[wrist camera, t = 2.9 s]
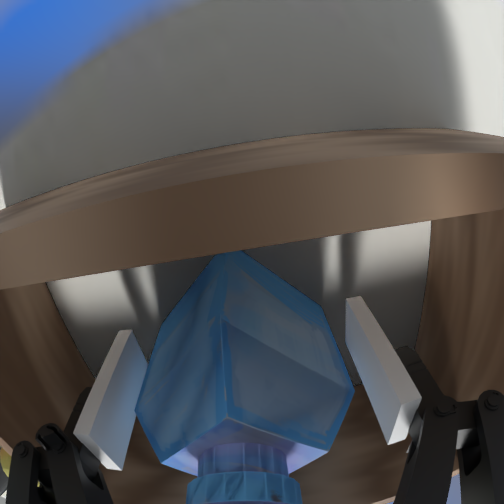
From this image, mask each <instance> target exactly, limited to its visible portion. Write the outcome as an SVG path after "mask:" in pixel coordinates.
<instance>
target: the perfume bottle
mask: <svg viewBox="0 0 504 504" xmlns="http://www.w3.org/2000/svg"><path fill="white" fill-rule="evenodd" d="M354 392H355V390H354V387H353V384H352V382H351V379H350V377H349V374H348V372H347V369H346V366H345V364H344V361H343V359H342V356H341V354H340V351H339V349H338V346H337V344H336V341H335V339H334V336H333V334H332V332H331V329H330V327H329V324H328V322H327V319H326V317H325V315H324V312H323V310H322V307H321V306H320V305H319V304H317V303H316V302H314V301H313V300H311V299H310V298H309V297H307V296H306V295H304V294H303V293H301V292H300V291H299V290H297V289H296V288H294V287H293V286H291V285H290V284H289V283H287V282H286V281H284V280H283V279H281V278H280V277H279V276H277V275H276V274H274V273H273V272H271V271H270V270H269V269H267V268H266V267H264V266H263V265H261V264H260V263H259V262H257V261H256V260H254V259H253V258H252V257H250V256H249V255H247V254H246V253H244V252H243V251H242V250H239V251H233V252H227V253H221V254H216V255H215V256H214V257H213V259H212V260H211V261H210V262H209V264H208V265H207V266H206V268H205V269H204V270H203V271H202V273H201V274H200V275H199V276H198V278H197V279H196V280H195V282H194V283H193V284H192V285H191V287H190V288H189V289H188V291H187V292H186V293H185V294H184V296H183V297H182V298H181V300H180V301H179V302H178V304H177V305H176V306H175V307H174V309H173V310H172V311H171V313H170V314H169V315H168V317H167V318H166V319H165V320H164V322H163V323H162V325H161V327H160V330H159V333H158V336H157V339H156V342H155V345H154V348H153V352H152V355H151V358H150V361H149V364H148V367H147V370H146V374H145V377H144V380H143V383H142V387H141V390H140V393H139V397H138V400H137V403H136V407H135V410H134V411H135V413H136V415H137V417H138V420H139V422H140V424H141V426H142V428H143V430H144V432H145V434H146V436H147V438H148V440H149V442H150V444H151V446H152V448H153V450H154V452H155V453H156V455H157V457H158V459H159V461H160V463H162V464H164V465H167V466H169V467H172V468H175V469H178V470H181V471H183V472H186V473H189V474H192V475H195V476H197V478H196V479H193V480H192V481H191V482H190V483H188V485H187V495H186V504H303V503H302V496H301V490H300V484H299V483H298V482H297V481H296V480H295V479H294V478H291V477H289V474H290V473H291V472H293V471H295V470H297V469H299V468H301V467H303V466H305V465H306V464H308V463H310V462H312V461H314V460H315V459H317V458H319V457H321V456H322V455H324V454H326V453H327V452H329V450H330V448H331V446H332V444H333V442H334V439H335V437H336V435H337V433H338V431H339V428H340V426H341V424H342V421H343V419H344V417H345V414H346V412H347V410H348V407H349V405H350V402H351V400H352V397H353V395H354Z"/></svg>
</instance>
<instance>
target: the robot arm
mask: <svg viewBox="0 0 504 504" xmlns="http://www.w3.org/2000/svg"><path fill="white" fill-rule="evenodd" d="M345 343H346V345H347V348H348V350H349V352H350V354H351V357H352V359H353V361H354V364H355V366H356V368H357V371H358V373H359V375H360V378H361V380H362V383H363V385H364V387H365V390H366V392H367V395H368V397H369V399H370V402H371V404H372V407H373V409H374V412H375V414H376V417H377V419H378V422H379V424H380V427H381V429H382V432H383V434H384V437H385V440H386V442H387V445H390V444H393V443H396V442H399V441H402V440H405V439H406V437H407V434H408V432H409V434H410V436H411V438H412V441H411V444H410V446H409V448H408V450H407V452H406V453H408V456H407V459H406V463H405V467H404V471H403V474H402V478H401V481H400V484H399V487H398V491H397V494H396V497H395V500H394V503H393V504H446V502H447V497H448V492H449V488H450V483H451V478H452V472H453V466H454V460H455V453H456V449H457V455H458V464H459V474H460V486H461V504H504V395H503V394H502V393H500V392H499V391H496V390H487V391H484V392H483V393H482V394H481V395H480V396H479V398H478V400H472V401H463V402H457V401H456V400H455V399H453V398H452V397H449V396H445V395H444V394H443V393H442V391H441V390H440V388H439V387H438V385H437V383H436V382H435V380H434V379H433V377H432V375H431V374H430V372H429V371H428V369H426V366H425V364H424V363H423V362H422V360H421V358H420V357H419V355H418V354H417V352H416V351H414V350H413V349H411V348H410V347H408V346H405V347H401V348H398V349H394V348H393V347H392V345H391V343H390V342H389V340H388V338H387V337H386V335H385V333H384V332H383V330H382V329H381V327H380V325H379V324H378V322H377V321H376V319H375V317H374V316H373V314H372V313H371V311H370V309H369V308H368V306H367V305H366V303H365V302H364V300H363V298H362V297H361V296H357V297H352V298H347V299H346V329H345ZM147 367H148V363H147V361H146V359H145V357H144V355H143V353H142V350H141V348H140V346H139V344H138V342H137V339H136V337H135V335H134V333H133V330H132V329H129V330H119V332H118V334H117V336H116V338H115V340H114V342H113V344H112V346H111V348H110V350H109V352H108V354H107V356H106V359H105V361H104V363H103V365H102V367H101V369H100V371H99V374H98V376H97V378H96V380H95V382H94V385H93V387H86V388H85V389H84V390H83V391H82V393H81V394H80V395H79V397H78V399H77V401H76V405H75V406H74V408H73V411H72V413H71V415H70V417H69V420H68V422H67V424H66V427H65V429H64V431H62V430H61V428H60V427H59V426H58V425H56V424H54V423H48V424H45V425H43V426H41V427H40V429H39V430H38V431H37V433H36V436H35V440H36V441H37V442H38V443H39V444H40V445H41V447H35V446H34V445H33V444H32V443H30V442H29V441H25V440H24V441H20V442H19V443H17V444H16V446H15V447H14V449H13V452H12V457H11V463H10V469H9V477H7V475H6V474H5V472H4V471H3V468H2V465H1V462H0V496H1V495H2V494H3V493H4V492H5V491H6V490H7V494H6V504H114V503H113V500H112V498H111V495H110V493H109V490H108V487H107V484H106V482H105V479H104V476H103V473H102V472H101V470H100V469H99V465H100V462H101V463H102V464H103V465H104V466H105V467H106V468H107V469H113V470H121V471H122V469H123V465H124V461H125V457H126V453H127V449H128V445H129V441H130V437H131V433H132V430H133V426H134V422H135V418H136V413H135V411H134V410H135V407H136V403H137V400H138V397H139V393H140V390H141V387H142V383H143V380H144V377H145V374H146V370H147ZM0 450H1V447H0ZM38 481H39V482H40V485H39V487H37V486H38Z"/></svg>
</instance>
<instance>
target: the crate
mask: <svg viewBox="0 0 504 504" xmlns="http://www.w3.org/2000/svg"><path fill="white" fill-rule="evenodd" d="M430 220H432V225H431V241H430V253H429V264H428V273H427V281H426V289H425V296H424V303H423V309H422V315H421V321H420V326H419V331H418V336H417V341H416V346H415V351H416V352H417V354H418V355H419V357H420V358H421V360H422V362H423V363H424V364H425V366H426V369H428V371H429V372H430V374H431V375H432V377H433V379H434V380H435V382H436V383H437V385H438V387H439V388H440V390H441V391H442V393H443V394H444V395H445V396H449V397H452V398H453V399H455V400H456V401H457V402H463V401H472V400H478V398H479V396H480V395H481V394H482V393H483V392H484V391H487V390H496V391H499V392H500V393H502V394H503V395H504V137H500V136H495V135H489V134H483V133H476V132H469V131H462V130H454V129H436V128H404V129H372V130H354V131H340V132H328V133H317V134H307V135H298V136H289V137H281V138H273V139H266V140H259V141H252V142H246V143H240V144H234V145H228V146H222V147H217V148H211V149H206V150H201V151H196V152H191V153H186V154H181V155H177V156H172V157H168V158H164V159H159V160H155V161H151V162H147V163H143V164H139V165H135V166H131V167H127V168H124V169H120V170H116V171H113V172H109V173H106V174H102V175H99V176H95V177H92V178H89V179H85V180H82V181H79V182H76V183H73V184H70V185H67V186H64V187H61V188H58V189H55V190H52V191H49V192H46V193H43V194H41V195H38V196H35V197H32V198H30V199H27V200H24V201H22V202H19V203H17V204H14V205H12V206H9V207H7V208H4V209H2V210H0V446H1V447H2V448H3V449H4V450H5V451H6V452H7V453H8V454H9V455H10V456H11V457H12V452H13V449H14V447H15V446H16V444H17V443H19V442H20V441H24V440H25V441H29V442H30V443H32V444H33V445H34V446H35V447H41V445H40V444H39V443H38V442H37V441H36V440H35V436H36V433H37V431H38V430H39V429H40V427H41V426H43V425H45V424H48V423H54V424H56V425H58V426H59V427H60V428H61V430H62V431H64V429H65V427H66V424H67V422H68V420H69V417H70V415H71V413H72V411H73V408H74V406H75V405H76V401H77V399H78V397H79V395H80V394H81V393H82V391H83V390H84V389H85V388H86V387H93V385H94V382H95V378H94V377H93V375H92V373H91V372H90V370H89V368H88V367H87V365H86V363H85V361H84V360H83V358H82V356H81V354H80V353H79V351H78V349H77V347H76V345H75V343H74V342H73V340H72V338H71V336H70V334H69V332H68V330H67V328H66V326H65V324H64V322H63V320H62V318H61V316H60V314H59V312H58V310H57V307H56V305H55V303H54V301H53V299H52V296H51V294H50V292H49V290H48V287H47V285H46V283H45V282H49V281H55V280H61V279H67V278H73V277H79V276H85V275H91V274H98V273H104V272H110V271H116V270H122V269H128V268H134V267H140V266H146V265H153V264H159V263H165V262H171V261H177V260H183V259H190V258H196V257H202V256H208V255H214V254H221V253H227V252H233V251H239V250H246V249H252V248H258V247H264V246H271V245H277V244H283V243H290V242H296V241H302V240H309V239H315V238H321V237H328V236H334V235H340V234H347V233H353V232H359V231H366V230H372V229H379V228H385V227H391V226H398V225H404V224H411V223H417V222H424V221H430ZM353 387H354V390H355V392H354V395H353V397H352V400H351V402H350V405H349V407H348V410H347V412H346V414H345V417H344V419H343V421H342V424H341V426H340V428H339V431H338V433H337V435H336V437H335V439H334V442H333V444H332V446H331V448H330V450H329V452H327V453H326V454H324V455H322V456H321V457H319V458H317V459H315V460H314V461H312V462H310V463H308V464H306V465H305V466H303V467H301V468H299V469H297V470H295V471H293V472H291V473H290V474H289V477H291V478H294V479H295V480H296V481H297V482H298V483H299V484H300V490H301V496H302V503H303V504H387V503H390V502H393V501H394V500H395V497H396V494H397V491H398V487H399V484H400V481H401V478H402V474H403V471H404V467H405V463H406V459H407V456H408V453H406V452H407V450H408V448H409V446H410V444H411V441H412V438H411V436H410V434H409V432H408V434H407V437H406V439H405V440H402V441H399V442H396V443H393V444H390V445H387V442H386V440H385V437H384V434H383V432H382V429H381V427H380V424H379V422H378V419H377V417H376V414H375V412H374V409H373V407H372V404H371V402H370V399H369V397H368V395H367V392H366V390H365V387H364V385H363V384H361V385H357V386H353ZM99 469H100V470H101V472H102V473H103V476H104V479H105V482H106V484H107V487H108V490H109V493H110V495H111V498H112V500H113V503H114V504H186V495H187V485H188V483H190V482H191V481H192V480H193V479H196V478H197V476H195V475H192V474H189V473H186V472H183V471H181V470H178V469H175V468H172V467H169V466H167V465H164V464H162V463H160V461H159V459H158V457H157V455H156V453H155V452H154V450H153V448H152V446H151V444H150V442H149V440H148V438H147V436H146V434H145V432H144V430H143V428H142V426H141V424H140V422H139V420H138V417H137V415H136V418H135V422H134V426H133V430H132V433H131V437H130V441H129V445H128V449H127V453H126V457H125V461H124V465H123V469H122V471H121V470H113V469H107V468H106V467H105V466H104V465H103V464H102V463H101V462H100V465H99ZM457 474H459V464H458V455H457V449H456V453H455V460H454V466H453V472H452V477H453V476H455V475H457Z"/></svg>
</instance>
